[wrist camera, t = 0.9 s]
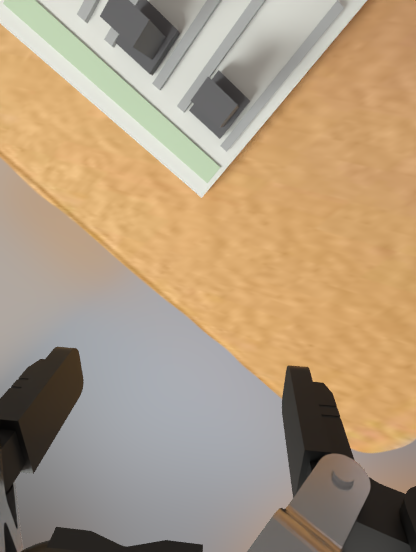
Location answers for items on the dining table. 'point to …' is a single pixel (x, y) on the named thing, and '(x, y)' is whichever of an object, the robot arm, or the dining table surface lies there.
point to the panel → (182, 66)
